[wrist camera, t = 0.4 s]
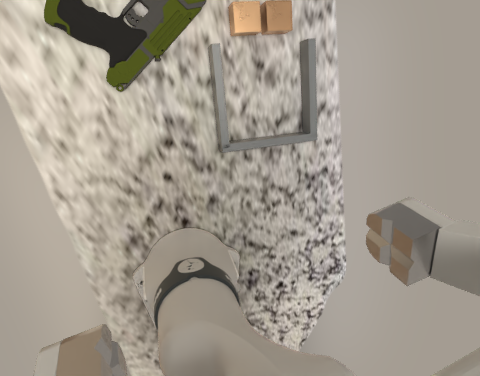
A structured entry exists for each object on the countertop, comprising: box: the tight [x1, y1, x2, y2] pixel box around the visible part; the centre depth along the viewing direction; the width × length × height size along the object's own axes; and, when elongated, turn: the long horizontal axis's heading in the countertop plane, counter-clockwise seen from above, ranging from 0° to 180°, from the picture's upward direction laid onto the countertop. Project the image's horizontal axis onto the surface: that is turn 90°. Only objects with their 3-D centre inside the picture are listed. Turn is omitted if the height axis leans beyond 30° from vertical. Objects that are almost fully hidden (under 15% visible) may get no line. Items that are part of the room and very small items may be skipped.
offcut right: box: [260, 0, 292, 35], centre depth 49 cm, size 4×4×3 cm
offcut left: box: [228, 1, 261, 36], centre depth 48 cm, size 4×4×3 cm
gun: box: [44, 0, 206, 92], centre depth 44 cm, size 2×19×15 cm
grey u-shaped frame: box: [208, 39, 317, 152], centre depth 52 cm, size 16×16×3 cm
